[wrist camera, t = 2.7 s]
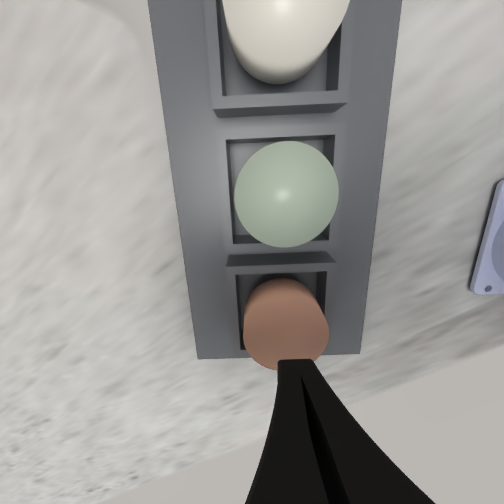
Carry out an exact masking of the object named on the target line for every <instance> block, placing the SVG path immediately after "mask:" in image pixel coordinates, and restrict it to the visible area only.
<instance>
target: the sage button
mask: <svg viewBox="0 0 504 504" xmlns="http://www.w3.org/2000/svg"><path fill="white" fill-rule="evenodd" d="M338 197H339V187H338V181H337V177H336V174H335V171H334V169H333V167H332V165H331V164H330V162H329V161H328V160H327V158H326V157H325V156H324V155H323V154H322V153H321V152H320V151H318V150H317V149H315V148H314V147H312V146H310V145H307V144H304V143H301V142H296V141H282V142H276V143H273V144H270V145H268V146H265V147H264V148H262V149H260V150H259V151H257V152H256V153H255V154H253V155H252V156H251V157H250V158H249V159H248V161H247V162H246V163H245V165H244V166H243V168H242V169H241V171H240V173H239V176H238V178H237V181H236V185H235V192H234V202H235V208H236V212H237V215H238V217H239V220H240V221H241V223H242V225H243V226H244V228H245V229H246V230H247V231H248V232H249V233H250V234H251V235H252V236H253V237H254V238H255V239H257V240H259V241H260V242H262V243H265V244H267V245H270V246H274V247H285V248H286V247H294V246H299V245H301V244H304V243H306V242H308V241H310V240H312V239H313V238H315V237H316V236H318V235H319V234H320V233H321V232H322V231H323V230H324V229H325V228H326V227H327V225H328V224H329V222H330V221H331V219H332V217H333V215H334V213H335V210H336V207H337V203H338Z"/></svg>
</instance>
